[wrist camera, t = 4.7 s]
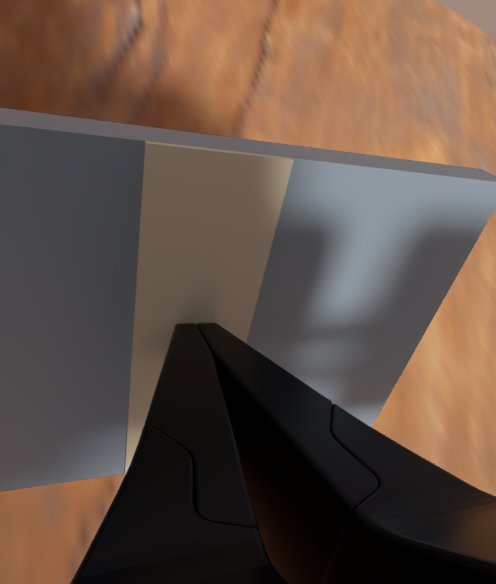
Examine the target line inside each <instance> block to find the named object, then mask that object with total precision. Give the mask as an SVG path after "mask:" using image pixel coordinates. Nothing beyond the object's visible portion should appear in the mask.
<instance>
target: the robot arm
mask: <svg viewBox="0 0 496 584" xmlns="http://www.w3.org/2000/svg"><path fill="white" fill-rule="evenodd" d="M70 584H496V496H493V495H491V494H488V493H486V492H483V491H481V490H479V489H477V488H475V487H473V486H471V485H470V484H468V483H466V482H464V481H463V480H461V479H459V478H457V477H456V476H454V475H452V474H450V473H449V472H447V471H445V470H443V469H442V468H440V467H438V466H436V465H435V464H433V463H431V462H429V461H428V460H426V459H424V458H422V457H421V456H419V455H417V454H415V453H414V452H412V451H410V450H408V449H407V448H405V447H403V446H401V445H400V444H398V443H396V442H395V441H393V440H391V439H390V438H388V437H386V436H385V435H383V434H381V433H380V432H378V431H376V430H375V429H373V428H371V427H370V426H368V425H367V424H365V423H364V422H362V421H361V420H359V419H358V418H356V417H354V416H353V415H351V414H350V413H348V412H347V411H345V410H344V409H342V408H341V407H340V406H338V405H337V404H333V405H332V401H330V400H329V399H328V398H326V397H325V396H323V395H322V394H320V393H319V392H317V391H316V390H314V389H313V388H311V387H310V386H308V385H307V384H305V383H304V382H302V381H301V380H299V379H298V378H297V377H295V376H294V375H292V374H291V373H289V372H288V371H286V370H285V369H283V368H282V367H280V366H279V365H277V364H276V363H274V362H273V361H271V360H270V359H269V358H267V357H266V356H264V355H263V354H261V353H260V352H258V351H257V350H255V349H254V348H252V347H251V346H249V345H248V344H246V343H245V342H243V341H242V340H240V339H239V338H238V337H236V336H235V335H233V334H232V333H230V332H229V331H227V330H226V329H224V328H223V327H221V326H220V325H218V324H217V323H198V324H197V325H196V324H194V323H179V324H176V325H175V328H174V331H173V334H172V337H171V340H170V344H169V347H168V350H167V353H166V356H165V360H164V363H163V366H162V369H161V373H160V376H159V379H158V382H157V385H156V389H155V392H154V395H153V398H152V401H151V405H150V408H149V411H148V414H147V417H146V421H145V425H144V426H143V429H142V432H141V436H140V439H139V442H138V445H137V447H136V450H135V453H134V456H133V458H132V461H131V464H130V466H129V468H128V470H127V473H126V475H125V477H124V479H123V481H122V484H121V486H120V488H119V490H118V492H117V494H116V496H115V498H114V500H113V502H112V504H111V506H110V508H109V510H108V512H107V514H106V516H105V518H104V520H103V522H102V524H101V525H100V527H99V529H98V531H97V533H96V535H95V537H94V539H93V541H92V543H91V545H90V547H89V549H88V551H87V553H86V555H85V557H84V559H83V561H82V563H81V565H80V567H79V568H78V570H77V572H76V574H75V576H74V578H73V579H72V581H71V583H70Z"/></svg>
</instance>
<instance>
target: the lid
mask: <svg viewBox="0 0 496 584" xmlns="http://www.w3.org/2000/svg"><path fill="white" fill-rule="evenodd" d="M495 207H496V176H494V175H492V174H490V173H488V172H486V171H484V170H482V169H475V168H467V167H459V166H451V165H444V164H436V163H428V162H420V161H412V160H405V159H397V158H389V157H381V156H373V155H366V154H358V153H350V152H342V151H334V150H327V149H319V148H311V147H303V146H296V145H288V144H280V143H272V142H264V141H257V140H249V139H241V138H233V137H225V136H218V135H210V134H202V133H194V132H186V131H179V130H171V129H163V128H155V127H147V126H140V125H132V124H124V123H116V122H109V121H101V120H93V119H85V118H77V117H70V116H62V115H54V114H46V113H38V112H31V111H23V110H15V109H7V108H0V491H7V490H14V489H21V488H28V487H35V486H42V485H49V484H56V483H63V482H70V481H77V480H84V479H91V478H98V477H104V476H111V475H118V474H125V475H126V473H127V470H128V468H129V466H130V464H131V461H132V458H133V456H134V453H135V450H136V447H137V445H138V442H139V439H140V436H141V432H142V429H143V426H144V425H145V421H146V417H147V414H148V411H149V408H150V405H151V401H152V398H153V395H154V392H155V389H156V385H157V382H158V379H159V376H160V373H161V369H162V366H163V363H164V360H165V356H166V353H167V350H168V347H169V344H170V340H171V337H172V334H173V331H174V328H175V325H176V324H179V323H194V324H196V325H197V324H198V323H217V324H218V325H220V326H221V327H223V328H224V329H226V330H227V331H229V332H230V333H232V334H233V335H235V336H236V337H238V338H239V339H240V340H242V341H243V342H245V343H246V344H248V345H249V346H251V347H252V348H254V349H255V350H257V351H258V352H260V353H261V354H263V355H264V356H266V357H267V358H269V359H270V360H271V361H273V362H274V363H276V364H277V365H279V366H280V367H282V368H283V369H285V370H286V371H288V372H289V373H291V374H292V375H294V376H295V377H297V378H298V379H299V380H301V381H302V382H304V383H305V384H307V385H308V386H310V387H311V388H313V389H314V390H316V391H317V392H319V393H320V394H322V395H323V396H325V397H326V398H328V399H329V400H330V401H332V405H333V404H337V405H338V406H340V407H341V408H342V409H344V410H345V411H347V412H348V413H350V414H351V415H353V416H354V417H356V418H358V419H359V420H361V421H362V422H364V423H365V424H367V425H368V426H370V427H372V425H373V423H374V422H375V420H376V418H377V416H378V414H379V413H380V411H381V409H382V407H383V406H384V404H385V402H386V400H387V399H388V397H389V395H390V393H391V391H392V390H393V388H394V386H395V384H396V383H397V381H398V379H399V377H400V375H401V374H402V372H403V370H404V368H405V367H406V365H407V363H408V361H409V360H410V358H411V356H412V354H413V352H414V351H415V349H416V347H417V345H418V344H419V342H420V340H421V338H422V337H423V335H424V333H425V331H426V329H427V328H428V326H429V324H430V322H431V321H432V319H433V317H434V315H435V314H436V312H437V310H438V308H439V306H440V305H441V303H442V301H443V299H444V298H445V296H446V294H447V292H448V290H449V289H450V287H451V285H452V283H453V282H454V280H455V278H456V276H457V275H458V273H459V271H460V269H461V267H462V266H463V264H464V262H465V260H466V259H467V257H468V255H469V253H470V252H471V250H472V248H473V246H474V244H475V243H476V241H477V239H478V237H479V236H480V234H481V232H482V230H483V229H484V227H485V225H486V223H487V221H488V220H489V218H490V216H491V214H492V213H493V211H494V209H495Z"/></svg>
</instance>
